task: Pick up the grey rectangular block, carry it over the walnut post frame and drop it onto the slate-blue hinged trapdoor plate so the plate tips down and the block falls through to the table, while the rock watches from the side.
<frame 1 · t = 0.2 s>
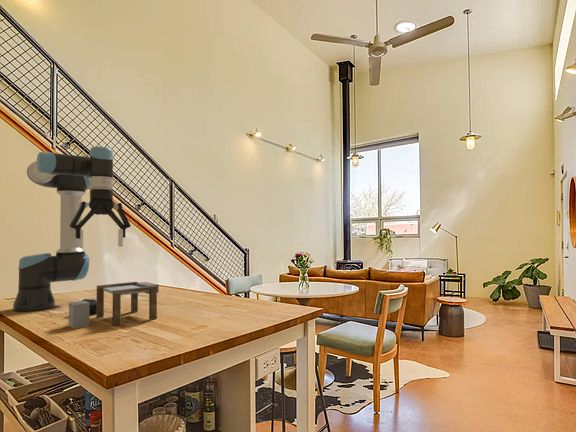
hand: (101, 247, 137), 27 cm above the counter, fingers open, 13 cm apart
rock: (90, 314, 150), on the counter
trapdoor frame: (126, 318, 141), on the counter
grey rectangular block: (78, 325, 130), on the counter
trapdoor: (132, 289, 143), point 11 cm above the counter, hinge at 0.0°
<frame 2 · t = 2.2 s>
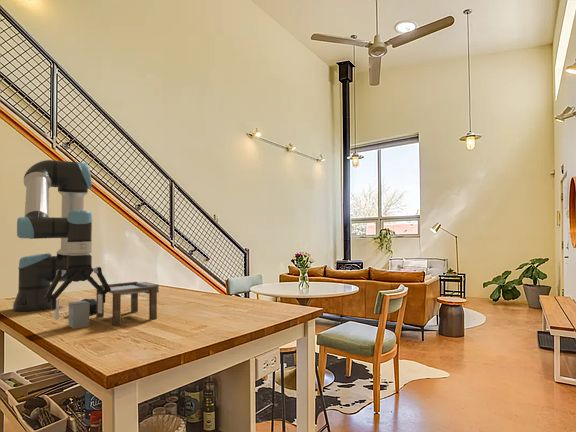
hand: (79, 315, 130), 3 cm above the counter, fingers open, 13 cm apart
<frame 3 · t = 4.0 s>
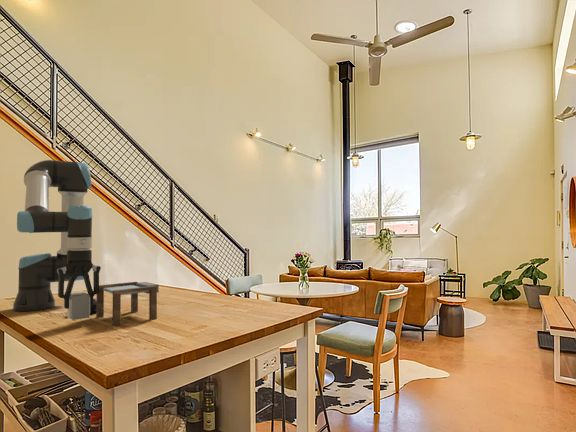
hand: (78, 316, 131), 3 cm above the counter, fingers closed on grey rectangular block, 5 cm apart
grey rectangular block: (78, 317, 131), point 3 cm above the counter, touching gripper
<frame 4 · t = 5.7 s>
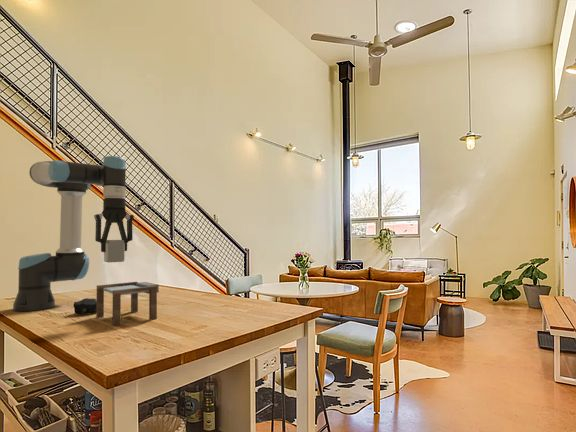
hand: (114, 260, 139), 22 cm above the counter, fingers closed on grey rectangular block, 5 cm apart
grey rectangular block: (114, 261, 139), point 21 cm above the counter, touching gripper
when the fingers open (13 cm above the counter, at t = 7.4 s): grey rectangular block drops 10 cm and tips over, point 2 cm above the counter.
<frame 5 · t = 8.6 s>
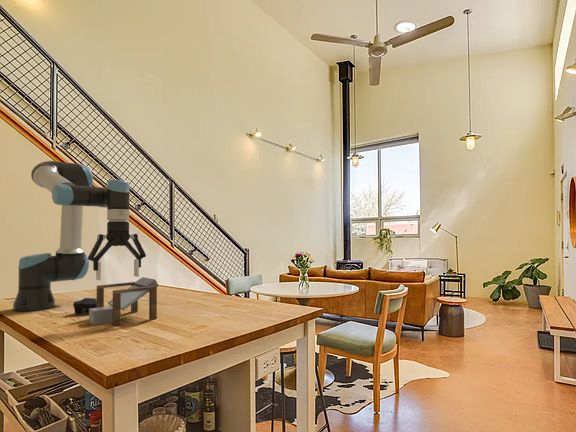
hand: (118, 278, 140), 15 cm above the counter, fingers open, 13 cm apart
grey rectangular block: (114, 313, 139), point 2 cm above the counter, tilted 90°
trapdoor: (133, 293, 143), point 9 cm above the counter, hinge at -30.6°
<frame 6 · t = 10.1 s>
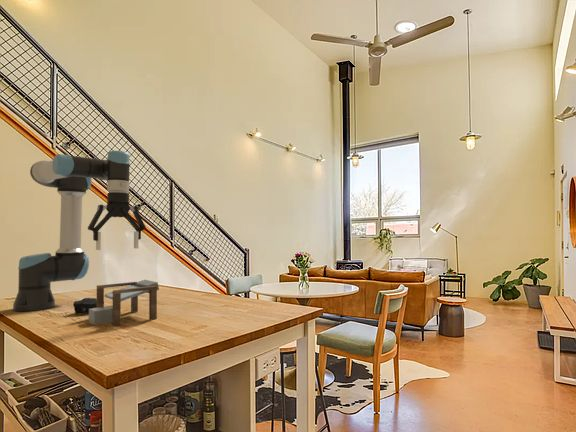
hand: (117, 249, 140), 26 cm above the counter, fingers open, 13 cm apart
trapdoor: (132, 291, 143), point 10 cm above the counter, hinge at -12.4°
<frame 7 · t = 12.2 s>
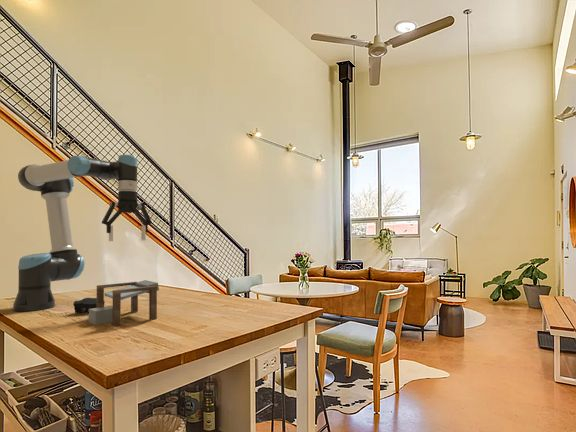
hand: (127, 240, 160), 29 cm above the counter, fingers open, 13 cm apart
trapdoor: (132, 290, 143), point 10 cm above the counter, hinge at -9.8°
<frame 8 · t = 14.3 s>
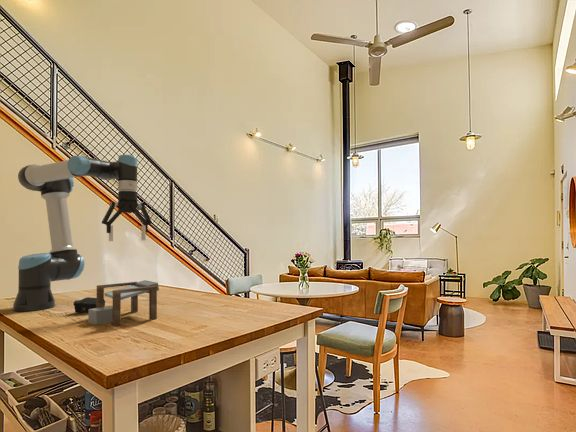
hand: (127, 240, 160), 29 cm above the counter, fingers open, 13 cm apart
at the end: grey rectangular block point 2.3 cm above the counter; grey rectangular block 5.8 cm from the trapdoor (horizontally); the gripper is holding nothing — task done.
